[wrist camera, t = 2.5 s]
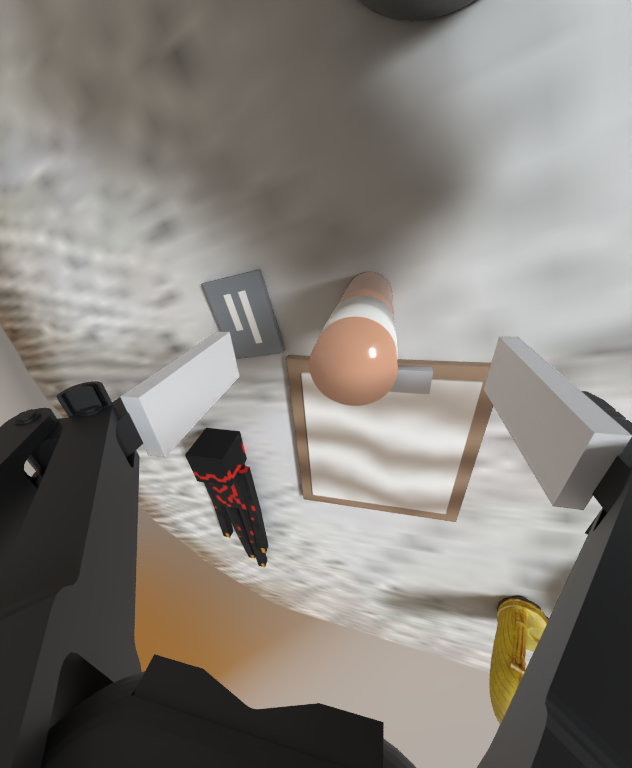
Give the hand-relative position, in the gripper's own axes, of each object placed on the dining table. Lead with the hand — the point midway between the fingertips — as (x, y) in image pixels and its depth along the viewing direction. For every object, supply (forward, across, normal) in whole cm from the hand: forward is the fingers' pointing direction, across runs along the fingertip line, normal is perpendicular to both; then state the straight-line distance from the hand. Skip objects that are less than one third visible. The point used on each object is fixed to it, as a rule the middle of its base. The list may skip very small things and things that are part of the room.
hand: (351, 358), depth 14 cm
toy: (+13, -19, -32) cm, 39 cm away
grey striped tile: (+12, -12, -2) cm, 17 cm away
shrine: (+13, +23, -47) cm, 54 cm away
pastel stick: (+12, 0, 0) cm, 12 cm away
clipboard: (+12, +2, -17) cm, 21 cm away
